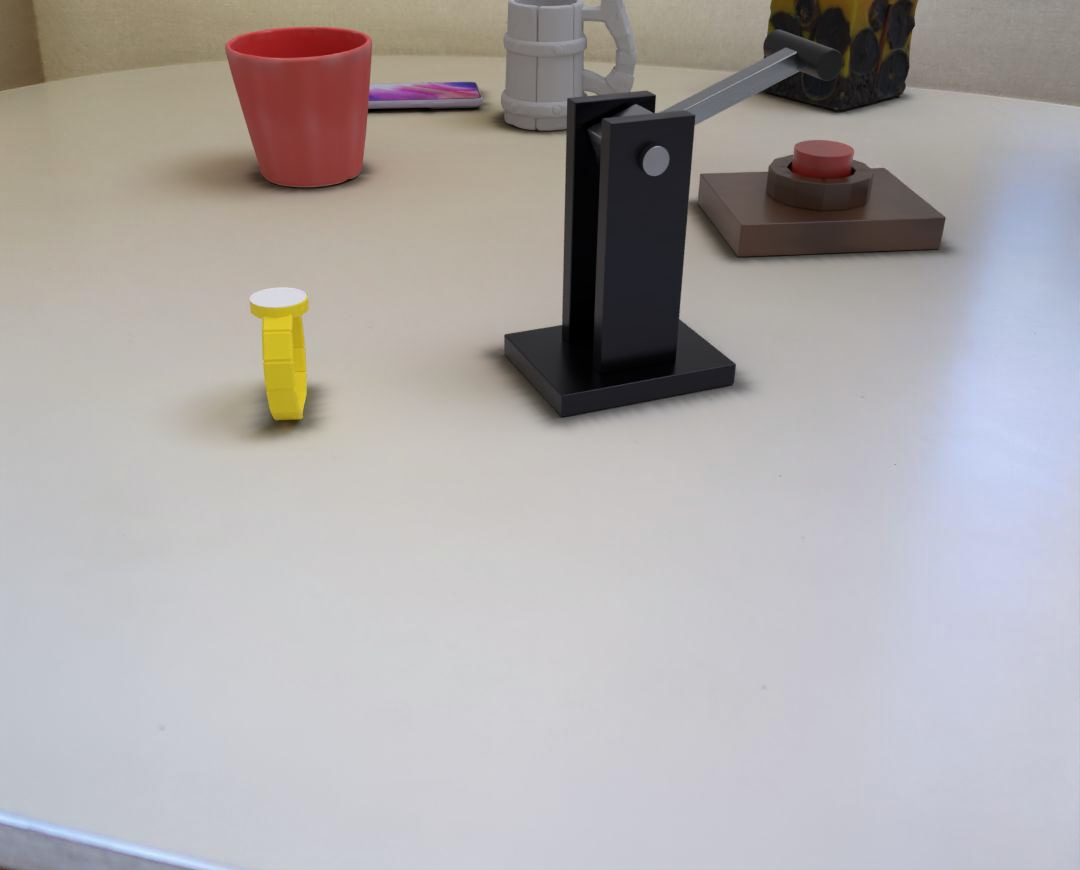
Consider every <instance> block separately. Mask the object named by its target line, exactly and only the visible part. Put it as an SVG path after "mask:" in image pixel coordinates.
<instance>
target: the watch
mask: <svg viewBox="0 0 1080 870" xmlns="http://www.w3.org/2000/svg"><path fill="white" fill-rule="evenodd" d="M249 306H250V307H249V309H250V313H251V315H252V316H254V317H256V318H258V319H261V348H262V349H261V350H262V351H261V353H262V361H263V363H262V367H263V377H264V386H265V393H266V398H267V404H268V409H269V411H270V414H271V416H272V418H273V420H275V421H289V420H292V421H293V420H302V419H304V416H303V413H304V408H305V404H306V399H307V396H308V391H307V390H308V389H307V388H308V385H307V384H308V380H307V379H308V378H307V377H308V376H307V375H308V373H307V372H308V371H307V355H306V352H307V351H306V347H305V346H306V341H305V332H304V331H305V330H304V323H303V315H304V314H306V313H307V312H308V311H309V309H310V305H309V296H308V294H307V293H306V292H305V291H303V290H301V289H299V288H294V287H287V286H285V287H284V286H281V287H280V286H279V287H269V288H264V289H262V290H261V289H260V290H258V291H255V292H254V293H252V294H251V295H250V296H249Z"/></svg>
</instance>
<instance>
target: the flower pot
mask: <svg viewBox="0 0 1080 870" xmlns="http://www.w3.org/2000/svg"><path fill="white" fill-rule="evenodd" d="M224 50H225V55H226V59H227V62H228V63H227V64H228V67H229V70H230V74H231V77H232V81H233V84H234V87H235V91H236V95H237V98H238V101H239V105H240V107H241V112H242V115H243V118H244V121H245V122H244V123H245V125H246V127H247V131H248V134H249V138H250V141H251V144H252V147H253V151H254V154H255V158H256V161H257V164H258V166H259V170H260V173H261V176H262V177H263V178H264V179H265V180H266V181H268V182H270V183H272V184H275V185H277V186H278V185H279V186H285V187H293V188H317V187H327V186H333V185H337V184H341V183H344V182H346V181H347V180H348V179H349V180H351V179H354V178H356V177H358V176H359V175H360V173H361V172H362V170H363V164H364V155H365V148H366V147H365V146H366V138H367V127H368V125H367V124H368V116H369V115H368V113H369V109H368V103H369V88H370V84H371V71H372V54H373V53H372V52H373V41H372V38H371V37H370V35H368V34H367V33H365V32H362V31H360V30H359V31H358V30H354V29H350V28H342V27H334V26H333V27H331V26H291V27H278V28H277V27H276V28H269V29H268V28H267V29H261V30H256V31H251V32H245V33H243V34H239V35H237V36H234V37H232V38H230V39H229V40H227V42H226V43H225V46H224Z"/></svg>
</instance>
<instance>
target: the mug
mask: <svg viewBox="0 0 1080 870" xmlns="http://www.w3.org/2000/svg"><path fill="white" fill-rule="evenodd" d="M506 22H507V23H506V24H507V26H506V28H507V29H506V32H505V33H504V35H503V39H502V42H503V47H504V50H506V55H505V86H504V89H503V90H502V92H501V95H500V105H501V108H502V109H503V110H504V121H505V123H506V124H508V125H512V126H514V127H516V128H519V129H523V130H529V131H536V130H537V131H541V132H543V131H547V132H548V131H550V132H551V131H563V130H566V129H567V98H573V97H583V96H589V95H588V93H587V92H589V93H592V94H595V95H604V94H615V93H625V92H632V89H633V86H634V83H635V76H634V74H635V69H636V65H637V62H638V51H637V49H636V43H635V38H634V34H633V31H632V25H631V23H630V19H629V16H628V12H627V8H626V4H625V2H624V0H600V5H597V6H596V5H584V1H583V0H508V1H507V21H506ZM585 22H599V23H604V27H606V29H607V30H608V32H609V34H610V36H611V37H612V39H613V41H614V45H615V48H616V50H615V65H614V66H613V67H612V69H610V70H611V71H610V72H609V73H608V74H607V75H606V76H603V75H601V74H599V73H597V72H594V71H593V70H589V69H586V68H585V50H587V49H588V37H587V35H586V33H585V31H584V29H585V26H584V23H585Z"/></svg>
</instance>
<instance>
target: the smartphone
mask: <svg viewBox="0 0 1080 870" xmlns="http://www.w3.org/2000/svg"><path fill="white" fill-rule="evenodd" d="M483 103H484V97H483V95H482V93H481V90H480V88H479V85H478V83H477V82H475V81H444V82H443V81H440V82H398V83H396V82H395V83H393V82H391V83H370V88H369V103H368V110H378V109H379V110H380V109H381V110H382V109H383V110H384V109H423V108H425V109H426V108H427V109H428V108H429V109H433V110H434V109H467V108H468V109H471V108H475V109H476V108H478V107H481V106H482V105H483Z"/></svg>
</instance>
